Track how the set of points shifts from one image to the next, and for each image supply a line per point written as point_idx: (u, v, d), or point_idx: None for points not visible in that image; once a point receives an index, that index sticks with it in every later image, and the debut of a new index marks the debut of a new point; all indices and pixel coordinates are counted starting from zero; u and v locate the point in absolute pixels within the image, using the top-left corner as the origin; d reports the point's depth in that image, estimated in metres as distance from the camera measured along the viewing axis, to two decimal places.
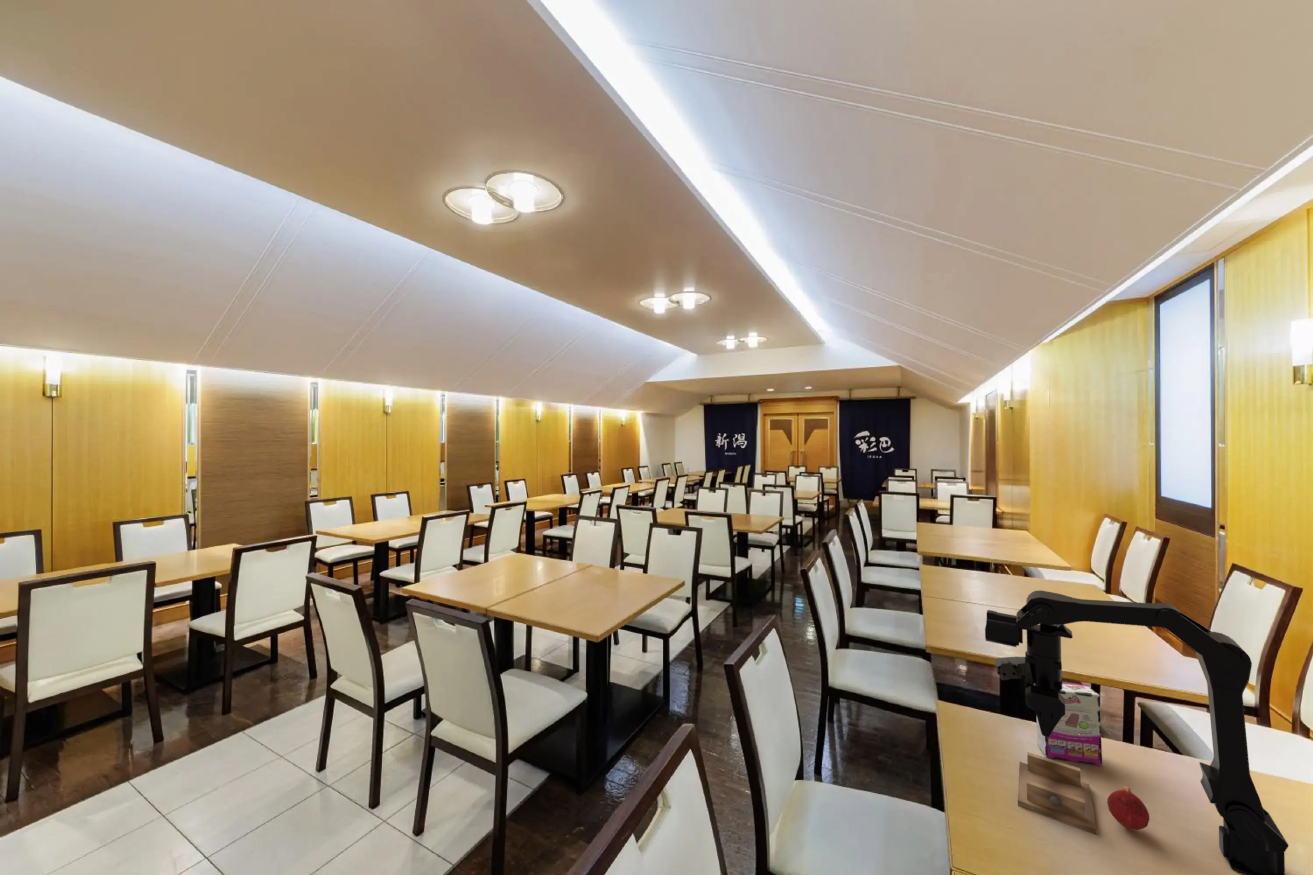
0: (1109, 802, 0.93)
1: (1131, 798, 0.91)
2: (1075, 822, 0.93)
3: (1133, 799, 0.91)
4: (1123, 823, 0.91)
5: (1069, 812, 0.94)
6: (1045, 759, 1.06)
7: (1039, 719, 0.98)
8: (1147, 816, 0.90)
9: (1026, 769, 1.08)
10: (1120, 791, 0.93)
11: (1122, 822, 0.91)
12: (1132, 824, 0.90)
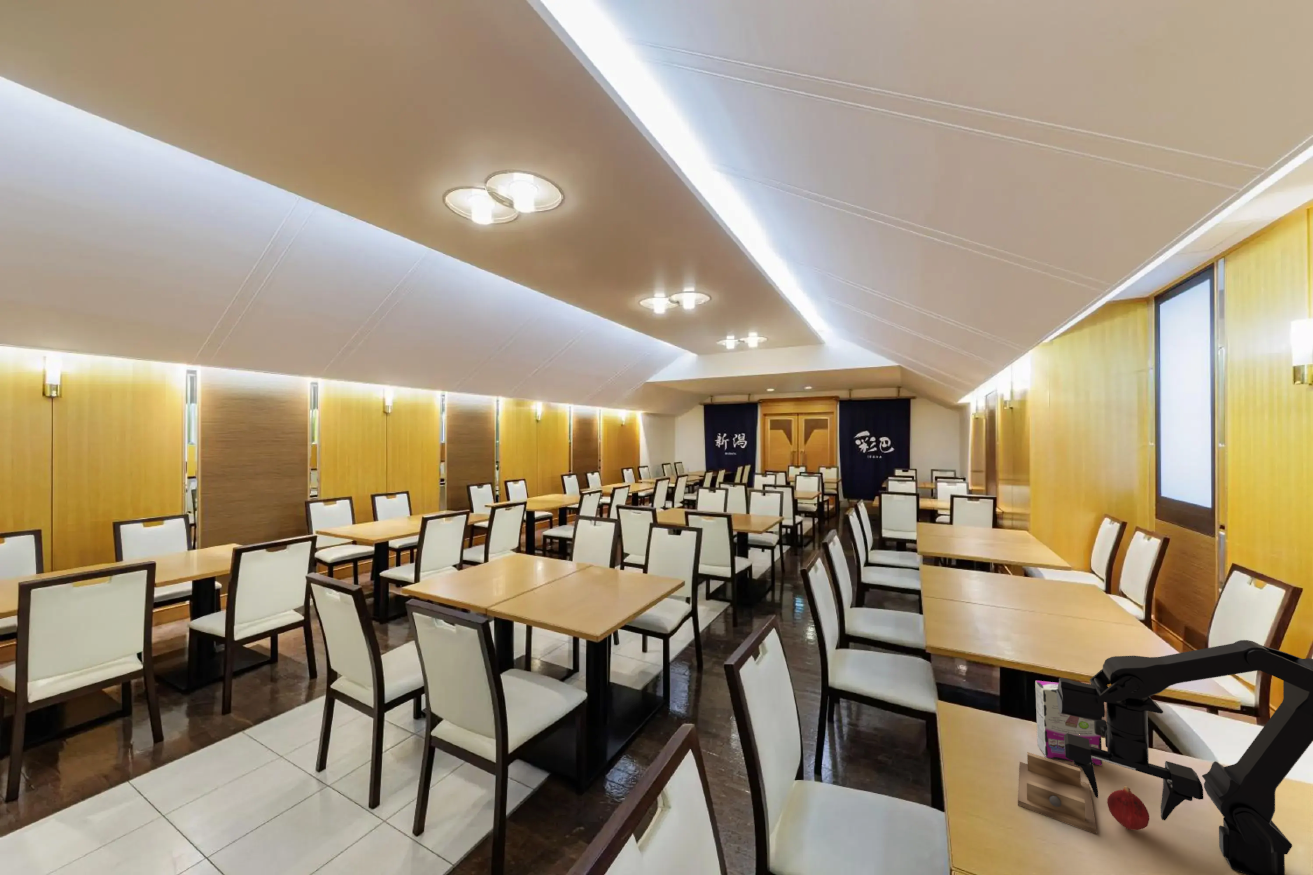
0: (1109, 802, 0.93)
1: (1131, 798, 0.91)
2: (1075, 822, 0.93)
3: (1133, 799, 0.91)
4: (1123, 823, 0.91)
5: (1069, 812, 0.94)
6: (1045, 759, 1.06)
7: None
8: (1147, 816, 0.90)
9: (1026, 769, 1.08)
10: (1120, 791, 0.93)
11: (1122, 822, 0.91)
12: (1132, 824, 0.90)
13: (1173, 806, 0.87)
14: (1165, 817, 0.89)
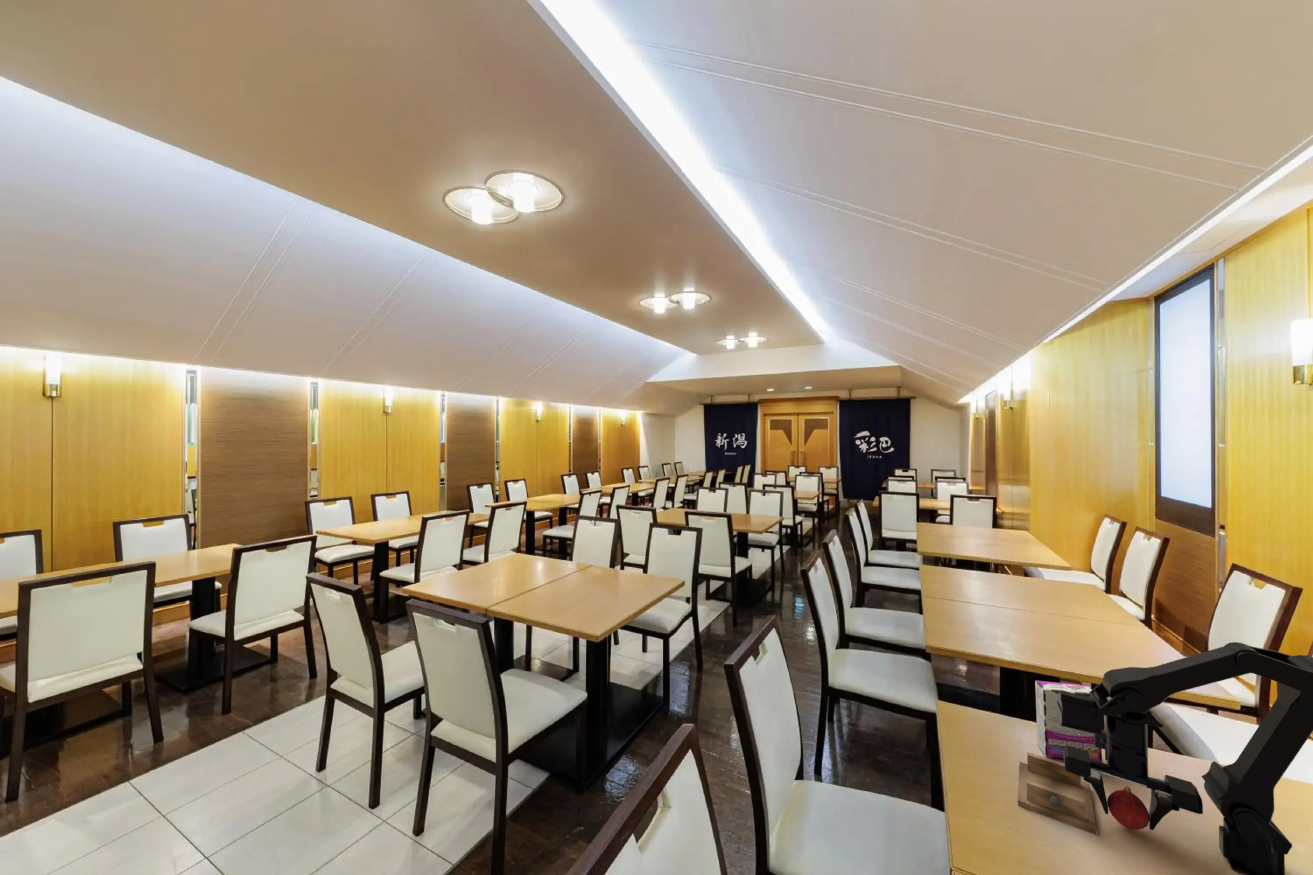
0: (1109, 802, 0.93)
1: (1131, 798, 0.91)
2: (1075, 822, 0.93)
3: (1133, 799, 0.91)
4: (1123, 823, 0.91)
5: (1069, 812, 0.94)
6: (1045, 759, 1.06)
7: None
8: (1147, 816, 0.90)
9: (1026, 769, 1.08)
10: (1120, 791, 0.93)
11: (1122, 822, 0.91)
12: (1132, 824, 0.90)
13: (1160, 816, 0.88)
14: (1153, 827, 0.90)
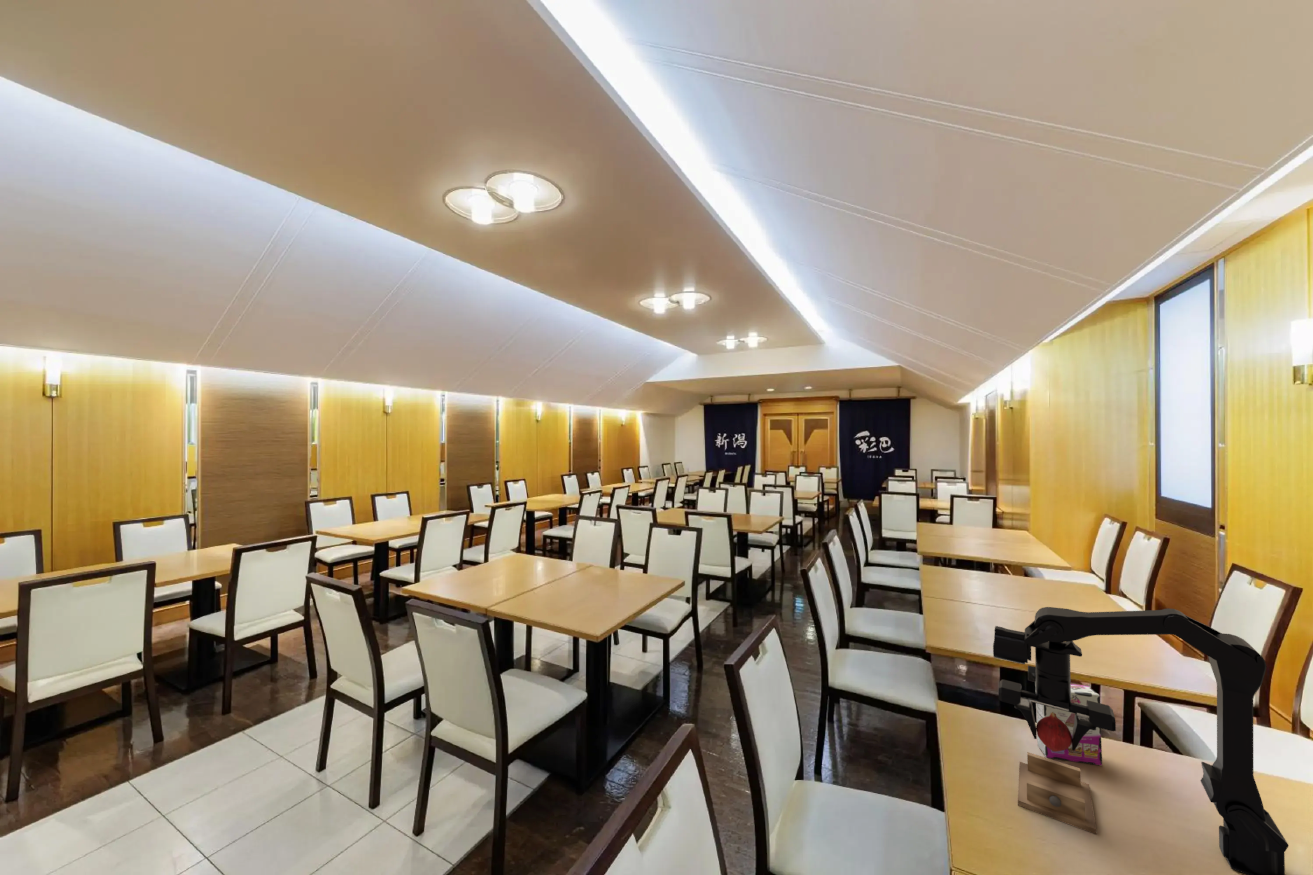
0: (1037, 727, 1.02)
1: (1056, 722, 0.99)
2: (1075, 822, 0.93)
3: (1058, 723, 0.99)
4: (1048, 745, 0.99)
5: (1069, 812, 0.94)
6: (1045, 759, 1.06)
7: None
8: (1069, 737, 0.98)
9: (1026, 769, 1.08)
10: (1047, 717, 1.01)
11: (1047, 744, 1.00)
12: (1055, 745, 0.98)
13: (1080, 736, 0.97)
14: (1074, 747, 0.98)
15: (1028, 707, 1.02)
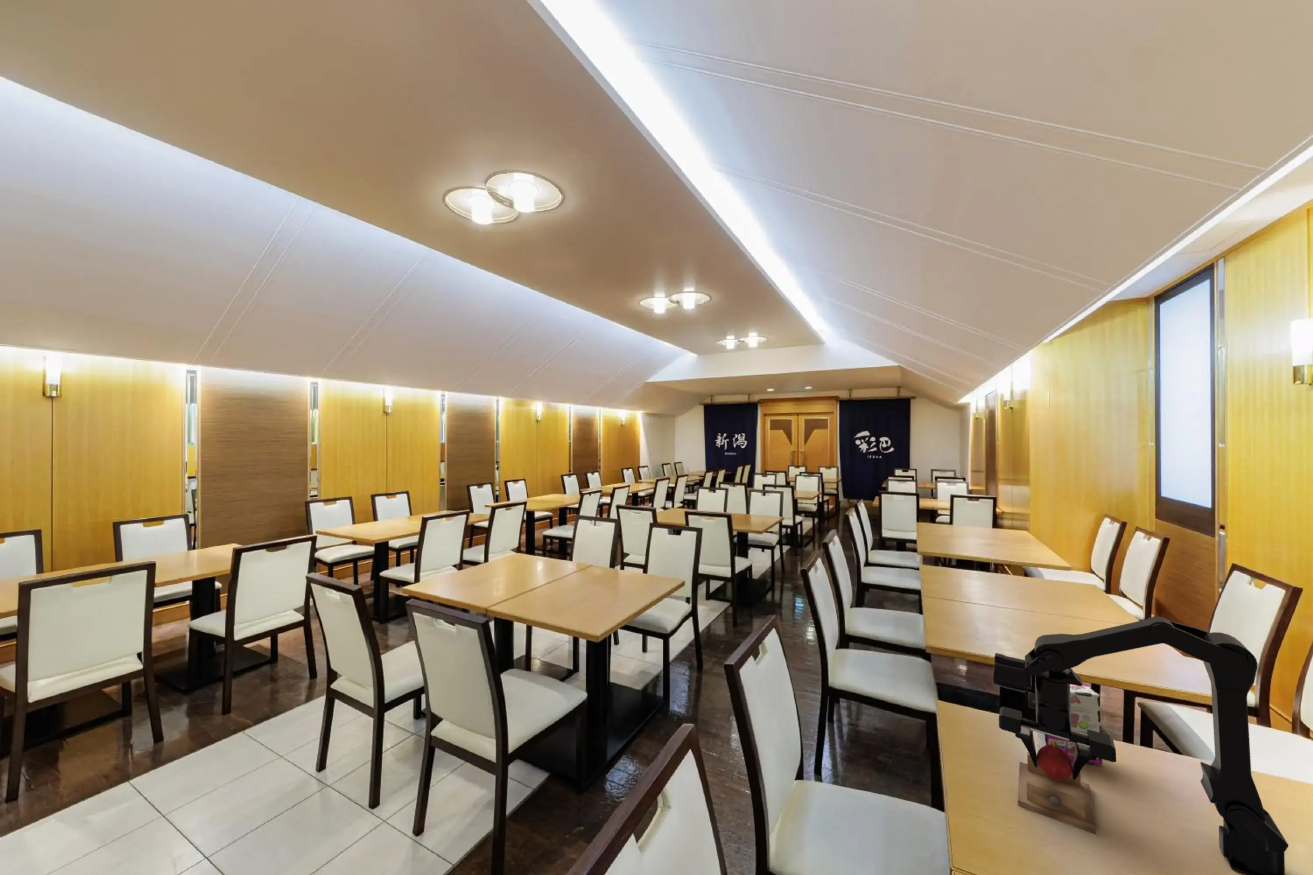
0: (1038, 756, 1.02)
1: (1056, 751, 0.99)
2: (1075, 822, 0.93)
3: (1058, 752, 0.99)
4: (1049, 774, 0.99)
5: (1069, 812, 0.94)
6: None
7: None
8: (1070, 767, 0.98)
9: (1026, 769, 1.08)
10: (1048, 745, 1.01)
11: (1048, 773, 0.99)
12: (1056, 775, 0.98)
13: (1081, 766, 0.96)
14: (1075, 777, 0.98)
15: (1028, 736, 1.02)
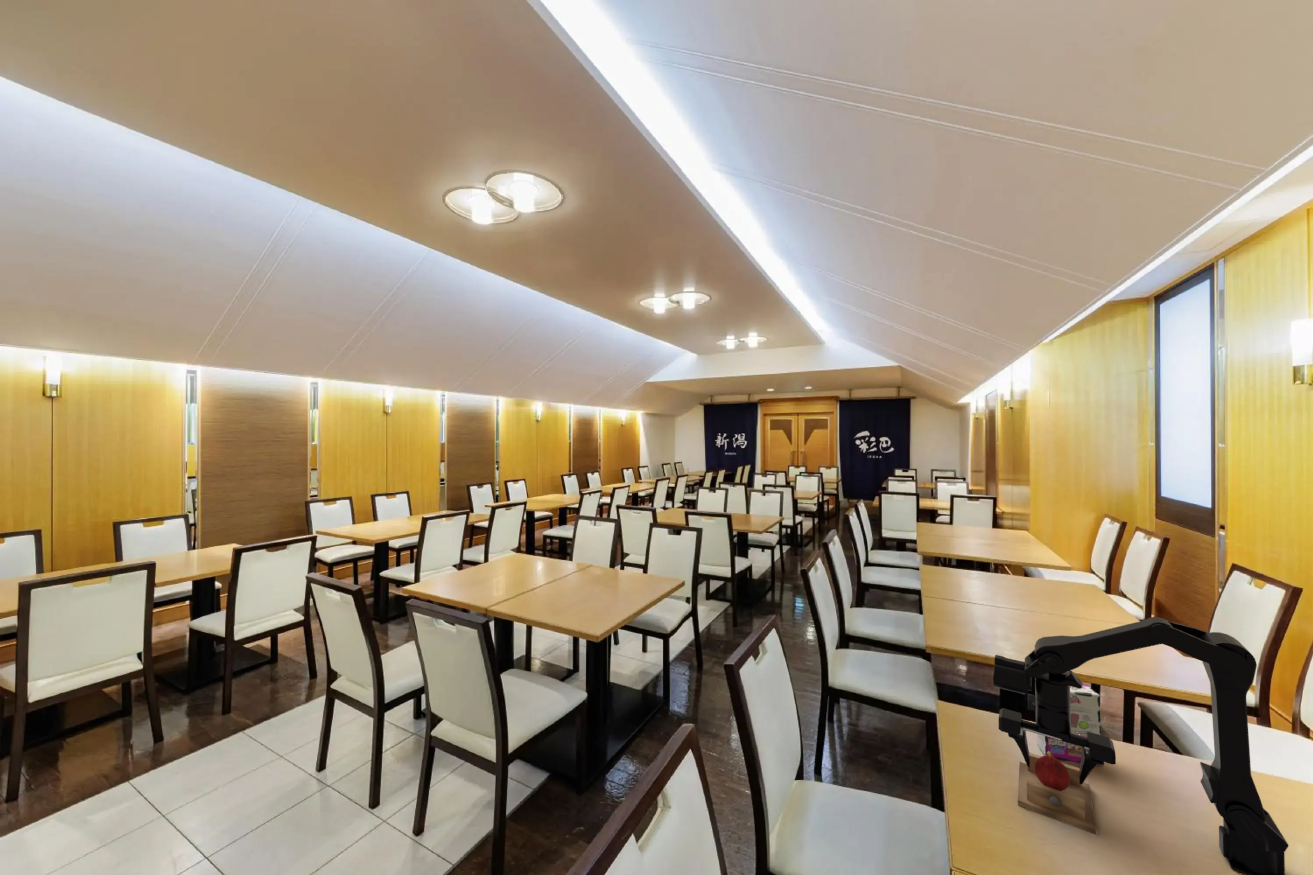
0: (1035, 767, 1.02)
1: (1052, 761, 1.00)
2: (1075, 822, 0.93)
3: (1054, 762, 1.00)
4: (1047, 785, 1.00)
5: (1069, 812, 0.94)
6: None
7: None
8: (1067, 777, 0.98)
9: (1026, 769, 1.08)
10: (1044, 756, 1.02)
11: (1046, 784, 1.00)
12: (1054, 786, 0.99)
13: (1088, 771, 0.96)
14: (1082, 781, 0.97)
15: (1021, 735, 1.02)
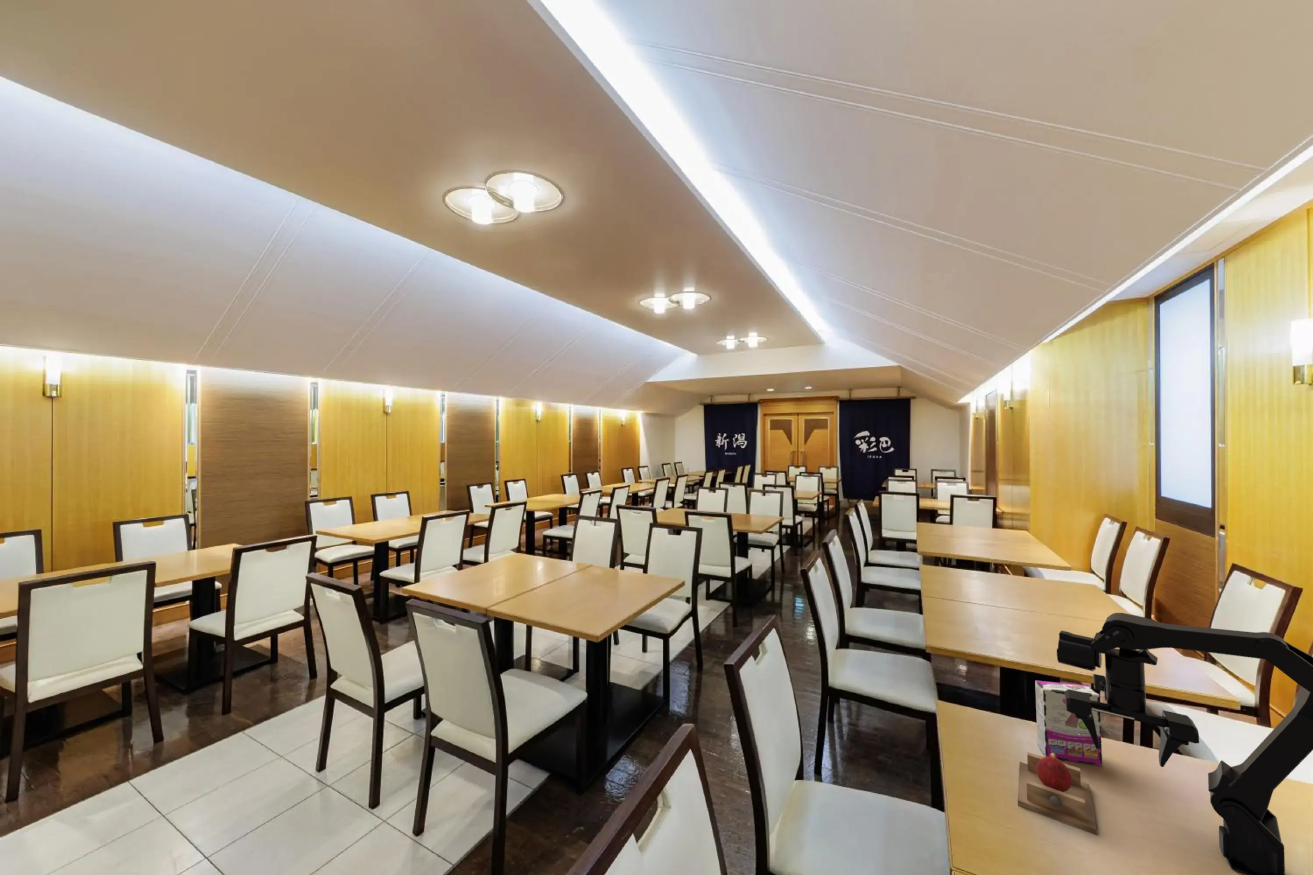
0: (1037, 767, 1.02)
1: (1056, 763, 1.00)
2: (1075, 822, 0.93)
3: (1058, 764, 0.99)
4: (1048, 786, 1.00)
5: (1069, 812, 0.94)
6: None
7: None
8: (1069, 779, 0.98)
9: (1026, 769, 1.08)
10: (1047, 757, 1.01)
11: (1047, 785, 1.00)
12: (1055, 787, 0.98)
13: (1171, 752, 0.91)
14: (1163, 763, 0.92)
15: (1090, 716, 0.98)
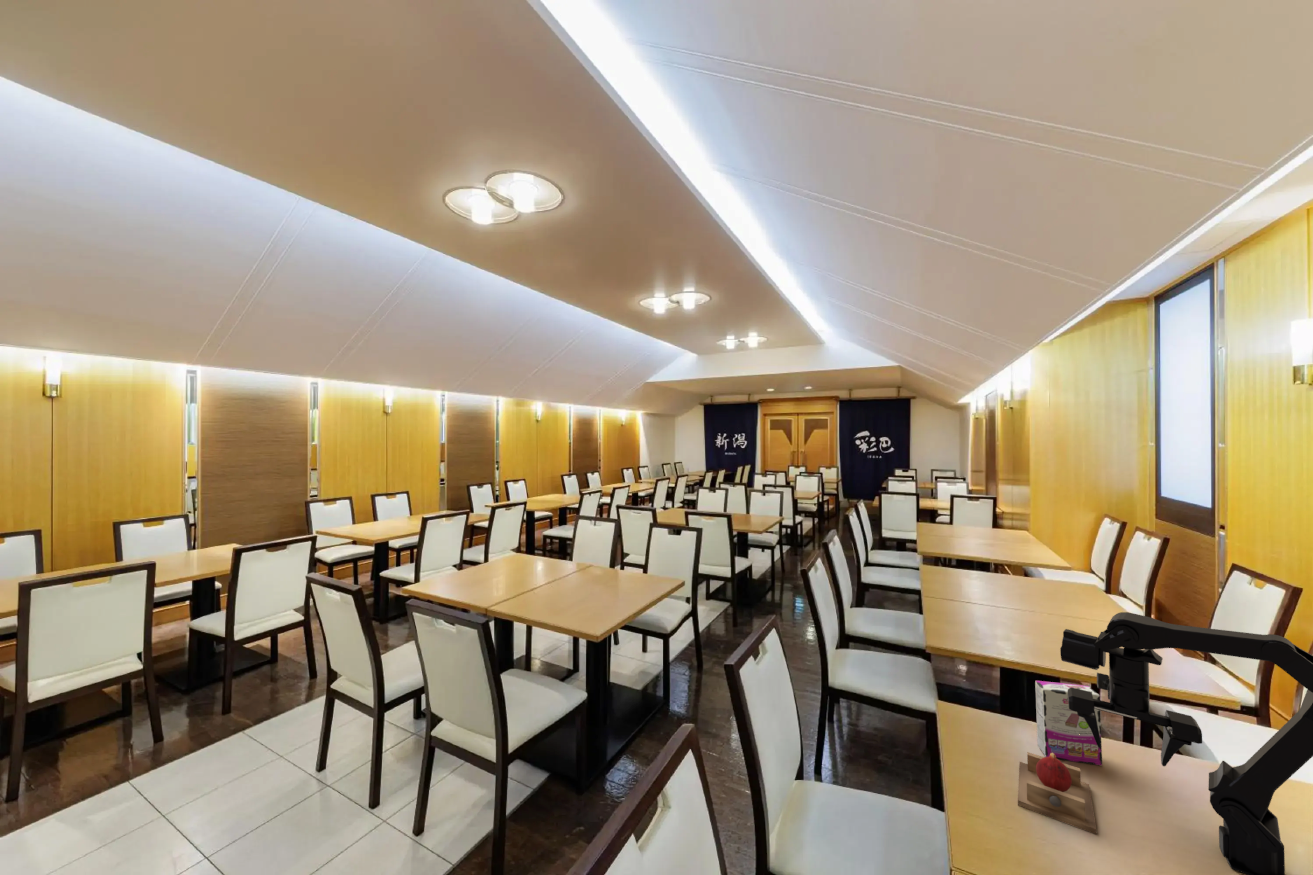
0: (1037, 768, 1.02)
1: (1055, 763, 1.00)
2: (1075, 822, 0.93)
3: (1057, 764, 0.99)
4: (1048, 786, 1.00)
5: (1069, 812, 0.94)
6: None
7: None
8: (1069, 779, 0.98)
9: (1026, 769, 1.08)
10: (1047, 757, 1.01)
11: (1047, 785, 1.00)
12: (1055, 787, 0.98)
13: (1173, 751, 0.91)
14: (1165, 763, 0.92)
15: (1092, 714, 0.98)
